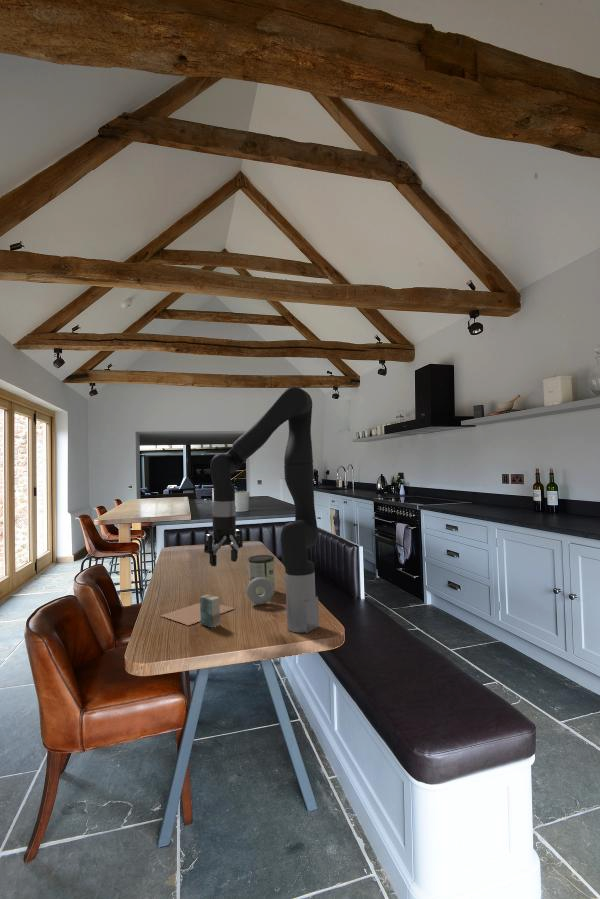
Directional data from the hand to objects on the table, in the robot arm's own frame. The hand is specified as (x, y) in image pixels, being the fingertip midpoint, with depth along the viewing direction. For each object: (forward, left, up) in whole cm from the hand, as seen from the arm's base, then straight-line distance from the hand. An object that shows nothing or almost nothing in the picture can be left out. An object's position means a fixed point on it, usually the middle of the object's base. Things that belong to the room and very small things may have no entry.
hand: (223, 563), depth 146 cm
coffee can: (+13, -31, -20) cm, 39 cm away
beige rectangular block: (+2, +4, -19) cm, 20 cm away
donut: (+3, -20, -20) cm, 28 cm away
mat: (+15, -1, -19) cm, 25 cm away
